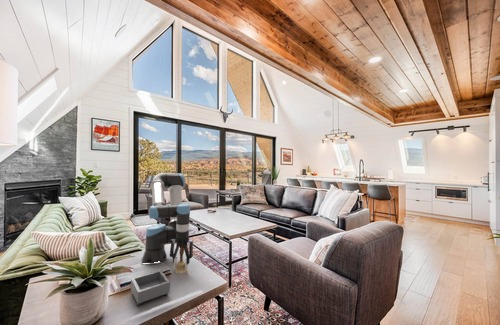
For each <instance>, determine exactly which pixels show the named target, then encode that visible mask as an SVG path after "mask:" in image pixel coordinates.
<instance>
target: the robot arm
mask: <svg viewBox="0 0 500 325" xmlns="http://www.w3.org/2000/svg"><path fill="white" fill-rule="evenodd" d="M149 185H150V186H149V187H150V189H151V199H152V200H151V202H152V203H151V204H152V205H151V206H149V209H148V218H149V219H154V220H155V219H166V218H167V219H169V218H170V221H169V222H168V224H167V225H166V224H165V223H156V224H152V225H150V226H149V227H147V229H146V233H145V248H144V249H145V250H144V253H143V256H142V258H141V264H142V263H154V262H158V261H160V262H162V263H163V262H165V261H166V260H167V258H168V255H167V252H166V249H165V248H166V247H165V245H170V248H169V249H170V250H169V257H170V258H172V264H173V270H174V271H175V270H176V268H177V264H178V256H177V254H178V251H179V250H180V247H181V246H182V247H183V248H184V254H185V257H186V258H184V259H185V260H184V263H185V271H186V270H188V269H189V268H188V267H189V264H190V262H191V261H190V259H192V258H193V256H194V247H193V246H194V245H193V244H194V240H193V239H192V240H190V220H191V219H190V218H191V217H190V216H191V215H190V213H191V205H190V204H189V203H183V199H182V198H183V197H182V194H183V193H182V191H183V190H184V189H185V187H186V179H185V176H184V174H183V173H181V172H180V173H178V172H176V173H173V172H160V173H158V174H156V175H154V177H153V178H152V179H151V181H150V184H149ZM164 189H167V191H168V192H169V204H167V205H166V201H165V192H164ZM175 245H176V246H175ZM188 246H189V248H188Z"/></svg>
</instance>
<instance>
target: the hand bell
mask: <svg viewBox="0 0 500 325" xmlns="http://www.w3.org/2000/svg"><path fill="white" fill-rule="evenodd" d="M184 254H185V250H184V248H183V247H182V246H180V247H179V262H177V268H176V269H175V270H174V272H175V273H176V274H188V272H189V270H188V269H187V270H186V271H185V261H183V260H184V257H183V256H184Z"/></svg>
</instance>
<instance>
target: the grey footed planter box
mask: <svg viewBox="0 0 500 325" xmlns="http://www.w3.org/2000/svg"><path fill="white" fill-rule="evenodd" d="M130 290H131V295H132V296H133V297H134V300H135V301H136V302H135V303H136V306H137V307H139V306H141V304H142V303H144V302H147V301H149V300H152V299H154V298H155V299H156V298H158V297H161V296H165V297H166V296H168V295H169V293H170V292H171V281H170V280H169V279H168V277H167V276H166V275H165V273H164V272H163V271H162V269H159V270H156V271H153V272H150V273H145V274H142V275H138V276H135V277H132V278H130Z"/></svg>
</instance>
